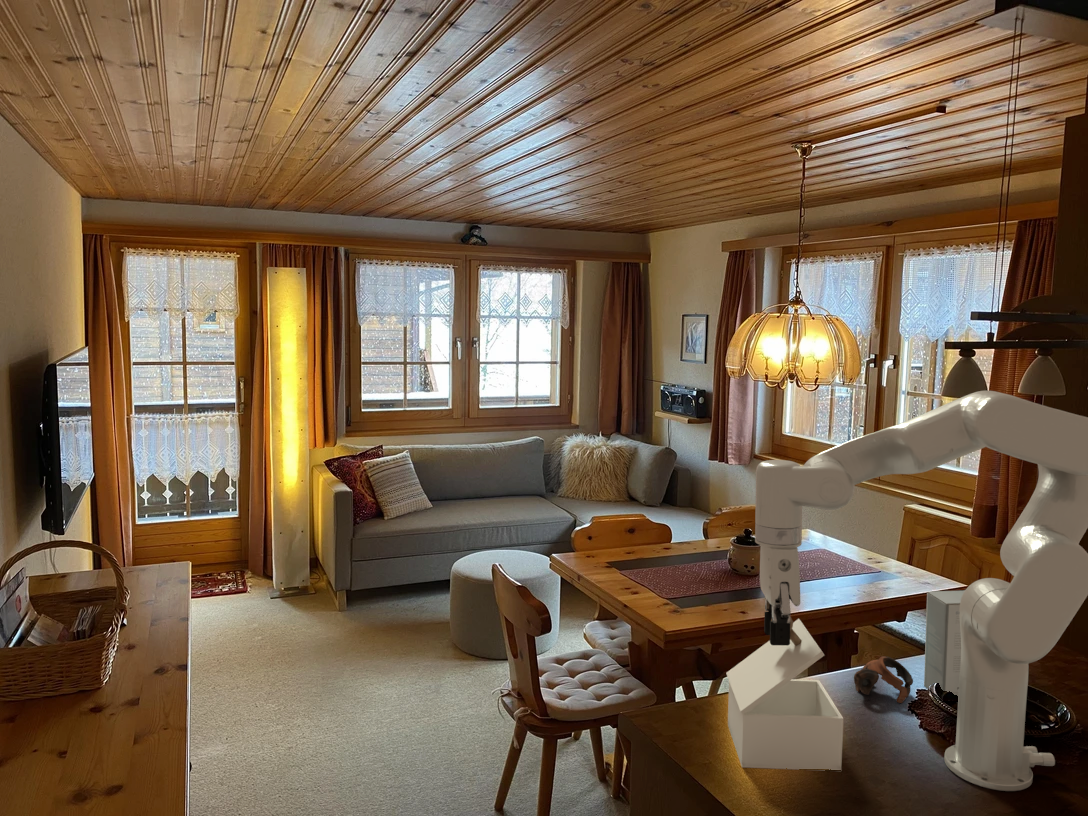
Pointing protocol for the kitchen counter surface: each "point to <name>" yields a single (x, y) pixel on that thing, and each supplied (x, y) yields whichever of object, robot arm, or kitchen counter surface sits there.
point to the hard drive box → (943, 640)
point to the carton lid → (772, 667)
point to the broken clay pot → (883, 677)
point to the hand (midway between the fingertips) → (776, 638)
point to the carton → (789, 729)
